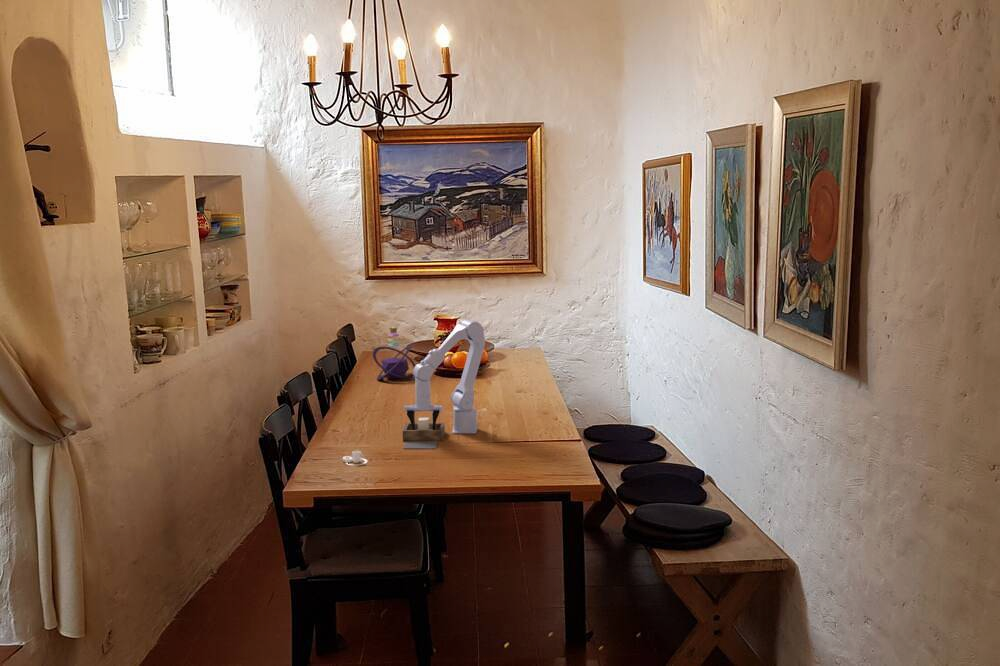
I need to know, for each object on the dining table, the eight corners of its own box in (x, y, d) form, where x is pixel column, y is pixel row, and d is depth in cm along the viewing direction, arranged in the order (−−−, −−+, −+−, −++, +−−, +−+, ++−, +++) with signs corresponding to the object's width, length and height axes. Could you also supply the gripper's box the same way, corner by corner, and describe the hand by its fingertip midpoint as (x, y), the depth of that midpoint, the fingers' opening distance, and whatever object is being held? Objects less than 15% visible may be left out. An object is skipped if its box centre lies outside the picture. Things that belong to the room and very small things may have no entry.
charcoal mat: (437, 442, 344) (437, 441, 344) (435, 449, 337) (435, 448, 337) (406, 442, 345) (406, 441, 345) (403, 449, 337) (403, 448, 337)
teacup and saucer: (339, 462, 324) (338, 451, 323) (357, 457, 329) (357, 446, 329) (353, 468, 318) (353, 457, 317) (372, 463, 323) (371, 451, 322)
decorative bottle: (372, 373, 456) (370, 324, 451) (414, 371, 460) (413, 322, 455) (374, 384, 434) (372, 332, 429) (418, 381, 438) (417, 330, 433)
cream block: (429, 430, 353) (429, 417, 352) (428, 433, 349) (428, 420, 348) (419, 430, 353) (419, 417, 352) (418, 433, 349) (417, 420, 348)
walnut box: (444, 432, 357) (444, 422, 356) (442, 441, 346) (442, 430, 345) (406, 432, 357) (406, 422, 356) (402, 441, 346) (402, 431, 346)
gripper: (442, 392, 352) (443, 426, 355) (405, 392, 353) (406, 426, 355) (441, 397, 345) (442, 431, 348) (403, 397, 346) (404, 431, 348)
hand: (423, 429), depth 351 cm, fingers open, 7 cm apart
